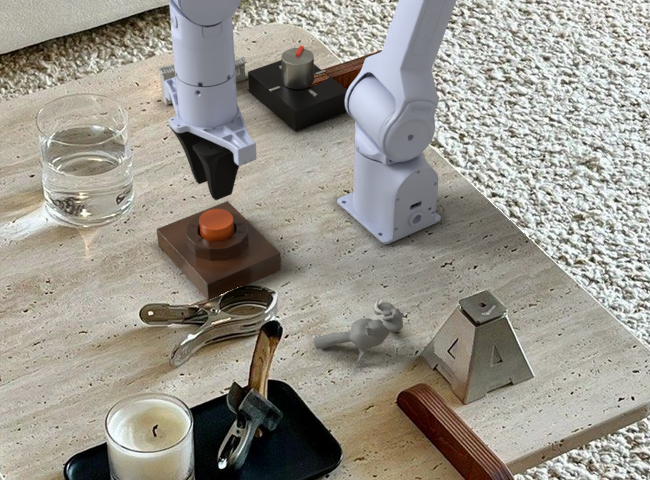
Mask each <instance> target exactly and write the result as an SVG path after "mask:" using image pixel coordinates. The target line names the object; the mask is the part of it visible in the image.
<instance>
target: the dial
mask: <svg viewBox="0 0 650 480" xmlns="http://www.w3.org/2000/svg"><path fill="white" fill-rule="evenodd" d="M314 55H315V54H314V53H313V52H312V51H311V50H309V49H308V48H307V49H306V48H305V46H304V45H299V47H292V48H289V49H286V50H284V51H283V52H282V53H281V57H280V58H281V59H280V60H281V63H282V83H283V84H284V85H285V86H286V87H288V88H291V89H305V88H308V87H310V86H311V85H312V83H313V81H314V64H315V56H314Z"/></svg>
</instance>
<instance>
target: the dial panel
mask: <svg viewBox="0 0 650 480" xmlns="http://www.w3.org/2000/svg"><path fill="white" fill-rule="evenodd" d="M323 73H327V71H326V70H325V69H321V68H320V67H319V66H317V65H316V64H315V63H314V74H315V75H319V74H323ZM327 76H329V78H328V79H327V80H326V81H323V82H322V83H319V84H317V85H314V86H312V87H308V88H305V89H291V88H288V87H286V86H285V85H284V84H283V83H282V63H281V59H279V60H276V61H275V62H271V63H269V64H266V65H262V66H260V67H257V68H253V69H251V70H248V71H247V81H248V82H247V84H248V85H247V86H248V93H249V94H251V96H253V97H254V98H255V99H256V100H258V102H260V104H262V105H263V106H264V107H266V108H267V109H268V110H269V111H270V112H272V113H273V114H274V115H275V116H276V117H277V118H278V119H279V120H281V121H282V122H283V123H284V124H286V126H288V128H290V129H291V130H292V131H293V132H294V133H297V132H300V131H302V130H305V129H307V128H310V127H313V126H315V125H318V124H320V123H324V122H327V121H329V120H332V119H334V118H336V117H340V116H343V115H345V114H348V113H347V110H346V108H345V96H346V92H347V90H348V89H347V88H345V87H344V86H343V85H341V84H340V83H339V82H338V81H336V80H335V79H334V78H332V77H331V76H330V75H329V74H327Z"/></svg>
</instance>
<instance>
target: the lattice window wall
mask: <svg viewBox="0 0 650 480" xmlns="http://www.w3.org/2000/svg"><path fill="white" fill-rule="evenodd" d="M247 63H248V62H247V60H246V59H245V56H243V55H239V57H238V56H237V57H236V58H235V72H236V83H238V82H241V81H244V80H246V64H247ZM156 71H157V72H158V74H159V78H160V79H159V80H160V89H161V99H162V102H163V103H164V104H165V105H166V106H169V105H171V104H172V105H173V103H172V101H169V100H168V99H167V98H166V97H165V88H164V81H165V80H168V79H171V78H174V77H175V66H174V61H173V62H172V63H170V64H168V65H162V66H158V67H156Z"/></svg>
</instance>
